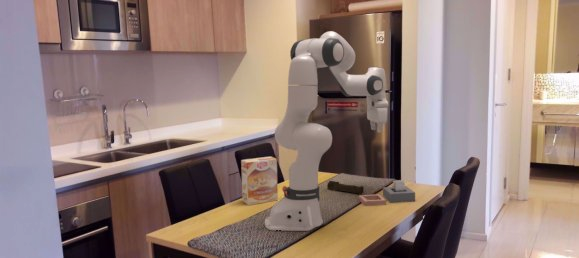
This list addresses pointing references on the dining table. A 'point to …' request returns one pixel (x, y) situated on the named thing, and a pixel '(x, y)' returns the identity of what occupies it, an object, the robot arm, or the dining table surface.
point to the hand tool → (344, 187)
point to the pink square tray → (372, 200)
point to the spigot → (398, 186)
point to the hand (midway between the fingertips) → (376, 131)
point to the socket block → (398, 195)
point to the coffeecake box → (259, 180)
